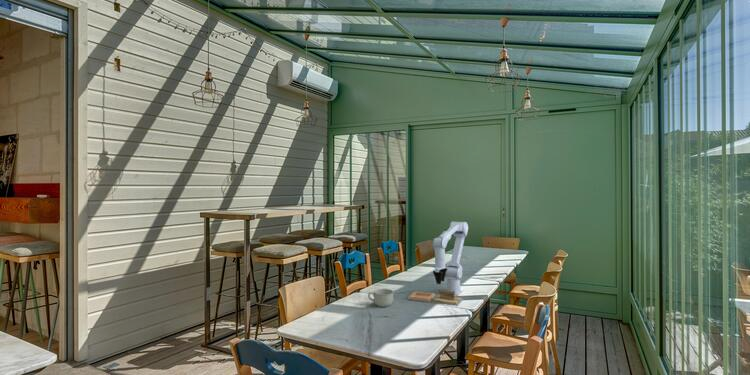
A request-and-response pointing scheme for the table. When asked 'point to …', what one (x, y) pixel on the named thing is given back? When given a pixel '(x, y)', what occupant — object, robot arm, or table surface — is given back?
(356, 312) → the table surface
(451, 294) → the oak lid
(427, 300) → the terracotta dish
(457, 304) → the rubber mat
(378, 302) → the teacup
